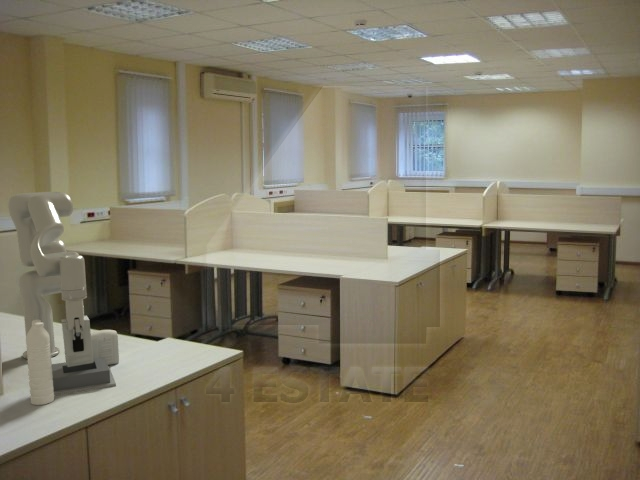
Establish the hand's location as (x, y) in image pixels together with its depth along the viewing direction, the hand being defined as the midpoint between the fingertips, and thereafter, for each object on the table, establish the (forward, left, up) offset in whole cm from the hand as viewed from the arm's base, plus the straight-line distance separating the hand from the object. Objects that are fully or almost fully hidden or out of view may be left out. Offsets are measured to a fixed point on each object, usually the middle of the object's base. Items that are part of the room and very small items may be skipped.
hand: (77, 347), depth 210 cm
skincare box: (0, 0, -5) cm, 5 cm away
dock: (0, 0, -11) cm, 11 cm away
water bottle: (+14, -11, -12) cm, 21 cm away
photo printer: (-15, +9, -12) cm, 21 cm away
